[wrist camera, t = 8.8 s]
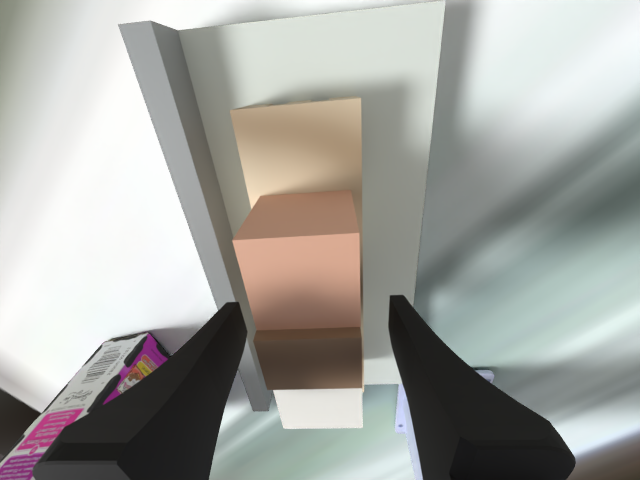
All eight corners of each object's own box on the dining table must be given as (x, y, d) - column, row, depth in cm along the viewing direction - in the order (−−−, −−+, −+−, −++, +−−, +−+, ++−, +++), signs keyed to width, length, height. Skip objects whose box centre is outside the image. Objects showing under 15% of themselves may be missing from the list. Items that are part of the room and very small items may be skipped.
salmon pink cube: (353, 266, 14) (360, 326, 10) (274, 270, 14) (256, 330, 11) (350, 189, 12) (359, 232, 8) (260, 196, 12) (232, 240, 9)
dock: (399, 362, 24) (411, 409, 21) (264, 365, 25) (253, 411, 21) (429, 12, 12) (468, -17, 9) (173, 40, 13) (117, 24, 10)
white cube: (356, 358, 17) (362, 427, 14) (292, 360, 18) (283, 428, 14) (354, 311, 15) (361, 377, 12) (283, 313, 16) (270, 379, 12)
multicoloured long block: (360, 360, 21) (372, 472, 15) (295, 362, 21) (282, 472, 15) (355, 95, 12) (380, 106, 6) (246, 106, 13) (170, 125, 7)
